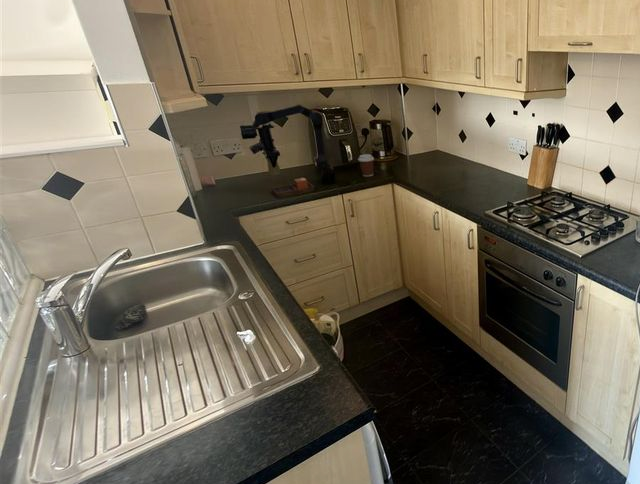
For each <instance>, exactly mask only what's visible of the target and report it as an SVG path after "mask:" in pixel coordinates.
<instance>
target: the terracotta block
mask: <svg viewBox="0 0 640 484" xmlns="http://www.w3.org/2000/svg"><path fill="white" fill-rule="evenodd" d="M293 181H294V182H293V183H294V184H295V187H296V189H297V190H298V189H303V188H308V185H307V181H308V180H307V179H306V178H305V177H300V178H294V179H293Z"/></svg>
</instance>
